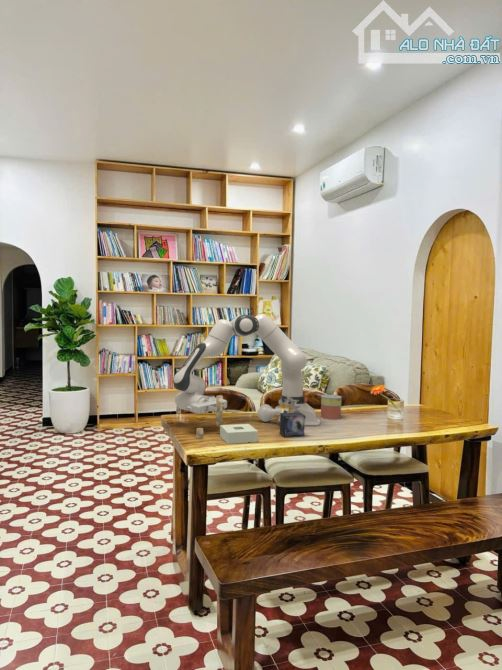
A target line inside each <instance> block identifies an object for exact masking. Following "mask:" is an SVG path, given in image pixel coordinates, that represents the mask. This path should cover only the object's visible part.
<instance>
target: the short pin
mask: <svg viewBox="0 0 502 670" xmlns="http://www.w3.org/2000/svg"><path fill="white" fill-rule="evenodd" d="M195 435H196V440H203V439H204V428H203V427H198V428H197V427H196V434H195Z"/></svg>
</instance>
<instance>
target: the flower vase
mask: <svg viewBox="0 0 502 670" xmlns="http://www.w3.org/2000/svg"><path fill="white" fill-rule="evenodd" d="M285 395H286V394H285ZM286 397H287V400H288V401H285V402H284V403H283V402H282V400H281V399H278V405H277V406H275V408H273V407H272V406H270V405H269V404H266V403H265V404H262V405H260V407H259V408H258V409H257V417H258V418H259V419H260V420H261V421H262V422H264V423H266V422H270V421H271V420H272V419H273V417H274V416H278V415H280V413H292V411H294V412H299V410H298V409H297V408H300V404H297V405H296V403H297V401H296V400H295V401H294V400H293V399H292V398H291V397H290V398H289V397H288V396H287V395H286ZM289 402H291V403H290V405H289V404H288V403H289ZM293 402H294V404H293ZM278 419H280V418H279V417H278Z"/></svg>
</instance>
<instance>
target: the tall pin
mask: <svg viewBox="0 0 502 670" xmlns="http://www.w3.org/2000/svg"><path fill="white" fill-rule="evenodd" d="M215 398H216V407H218V408H219V410H218V411H215V415H216V416H215V417H216V418H215V425H216V426H219V427H220V425H223V412H224V411H223V399H224V396H223V395H221V394H220V395H216V397H215Z"/></svg>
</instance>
